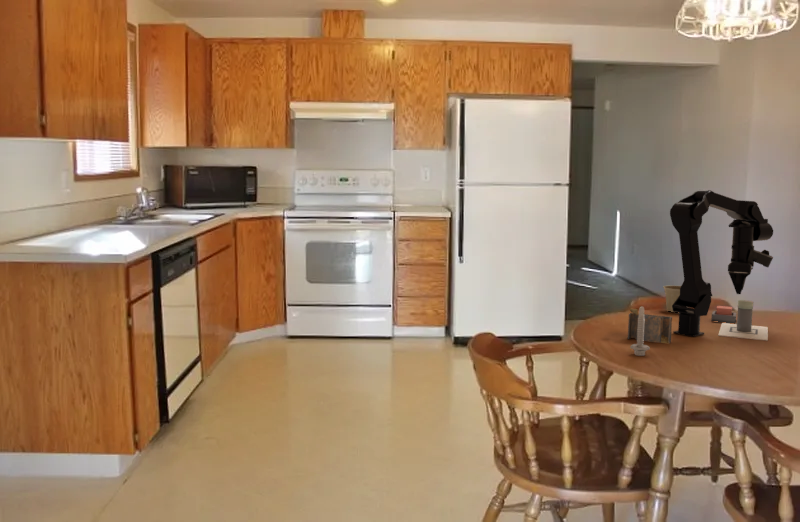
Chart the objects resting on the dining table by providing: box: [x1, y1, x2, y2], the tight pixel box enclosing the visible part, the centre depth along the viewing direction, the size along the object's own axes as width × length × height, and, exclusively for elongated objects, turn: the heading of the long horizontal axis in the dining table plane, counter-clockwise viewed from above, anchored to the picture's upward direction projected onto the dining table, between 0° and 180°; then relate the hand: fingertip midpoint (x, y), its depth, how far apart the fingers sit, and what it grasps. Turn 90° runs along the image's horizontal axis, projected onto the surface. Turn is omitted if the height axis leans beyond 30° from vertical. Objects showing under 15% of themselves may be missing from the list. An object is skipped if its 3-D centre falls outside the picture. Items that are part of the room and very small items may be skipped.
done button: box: [716, 305, 733, 315], centre depth 229 cm, size 4×4×2 cm
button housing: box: [711, 310, 737, 324], centre depth 230 cm, size 7×7×2 cm
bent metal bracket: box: [627, 307, 673, 345], centre depth 200 cm, size 11×3×10 cm, turn 60°
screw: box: [629, 306, 650, 357], centre depth 183 cm, size 13×5×5 cm
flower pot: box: [662, 284, 681, 313], centre depth 245 cm, size 9×9×9 cm
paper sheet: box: [717, 323, 769, 342], centre depth 214 cm, size 20×13×1 cm, turn 153°
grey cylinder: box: [736, 299, 754, 332], centre depth 213 cm, size 4×4×9 cm
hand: (739, 291), depth 218 cm, fingers open, 9 cm apart
